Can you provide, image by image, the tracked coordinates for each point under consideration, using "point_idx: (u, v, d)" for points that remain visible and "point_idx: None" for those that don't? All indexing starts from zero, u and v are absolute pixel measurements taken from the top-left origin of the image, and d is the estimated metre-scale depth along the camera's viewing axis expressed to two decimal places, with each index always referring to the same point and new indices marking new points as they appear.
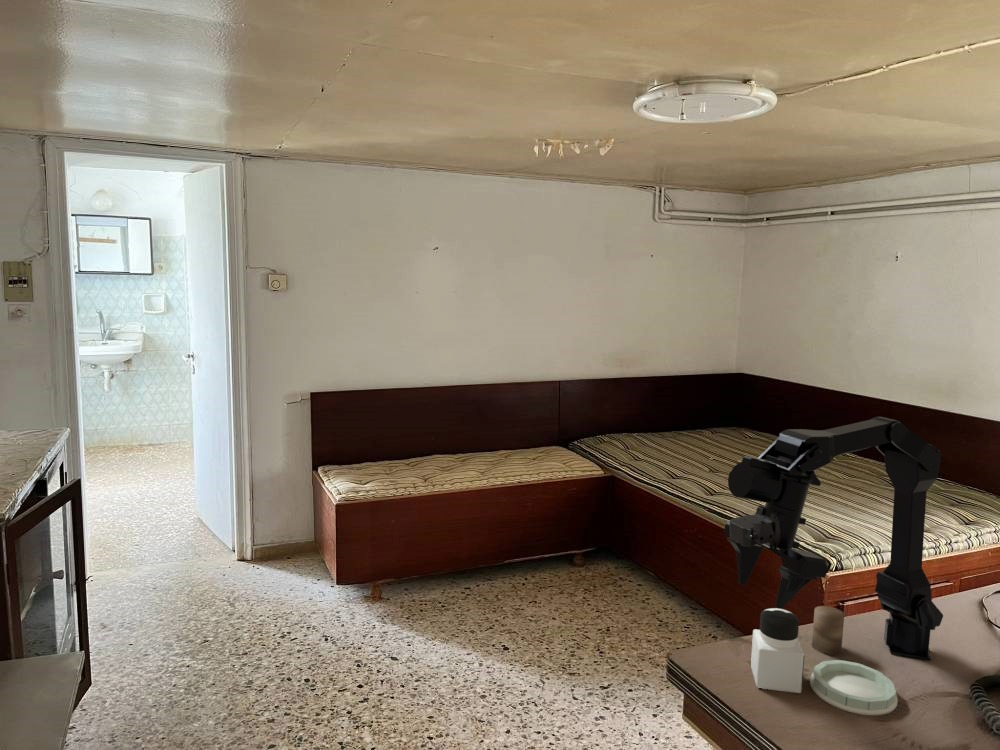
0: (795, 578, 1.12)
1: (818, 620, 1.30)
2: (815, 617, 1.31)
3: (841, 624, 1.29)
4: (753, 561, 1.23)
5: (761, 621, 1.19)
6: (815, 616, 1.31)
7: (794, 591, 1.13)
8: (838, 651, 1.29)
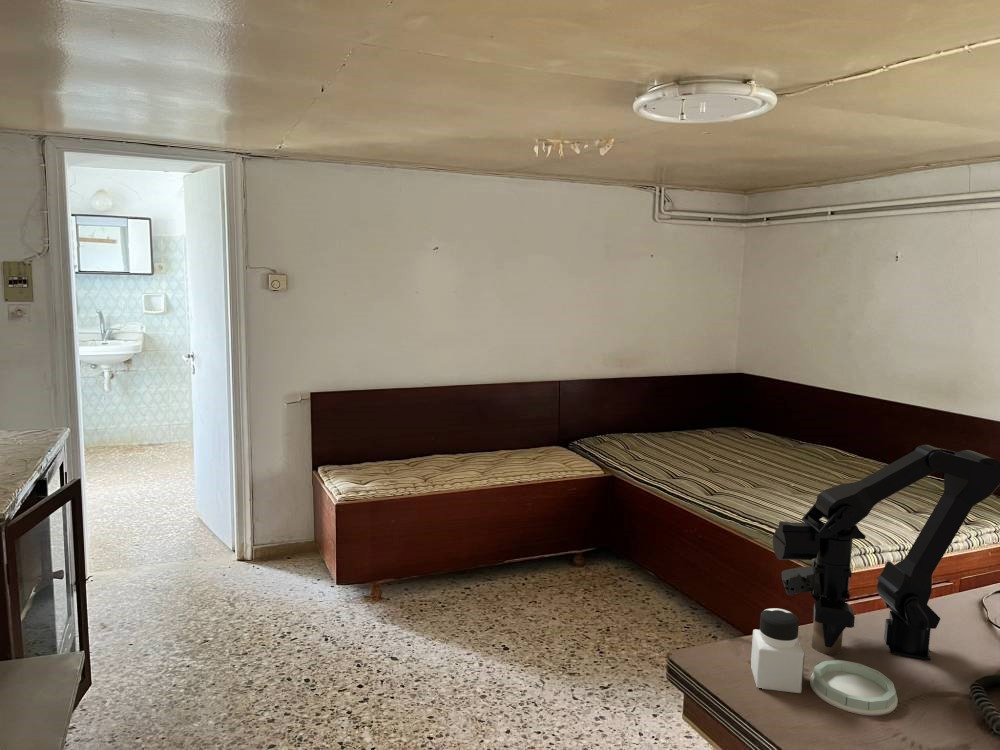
0: None
1: None
2: None
3: None
4: None
5: (761, 621, 1.19)
6: None
7: (835, 633, 1.27)
8: (838, 651, 1.29)
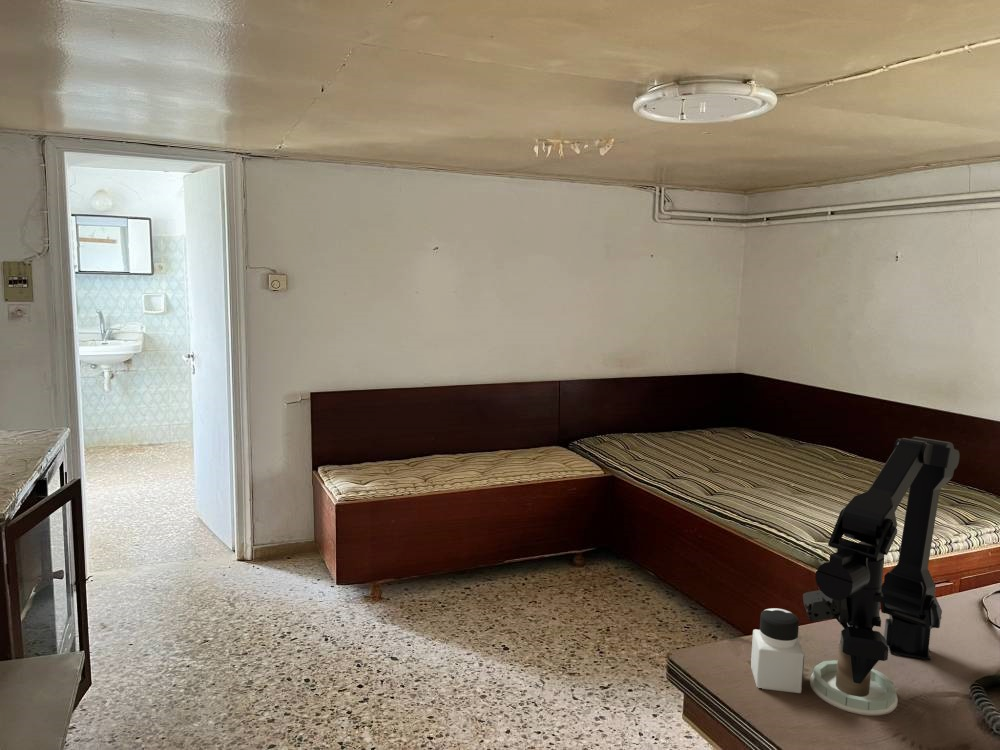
0: None
1: (843, 658, 1.16)
2: (840, 654, 1.17)
3: None
4: None
5: (761, 621, 1.19)
6: (840, 653, 1.17)
7: (866, 668, 1.12)
8: (866, 692, 1.15)
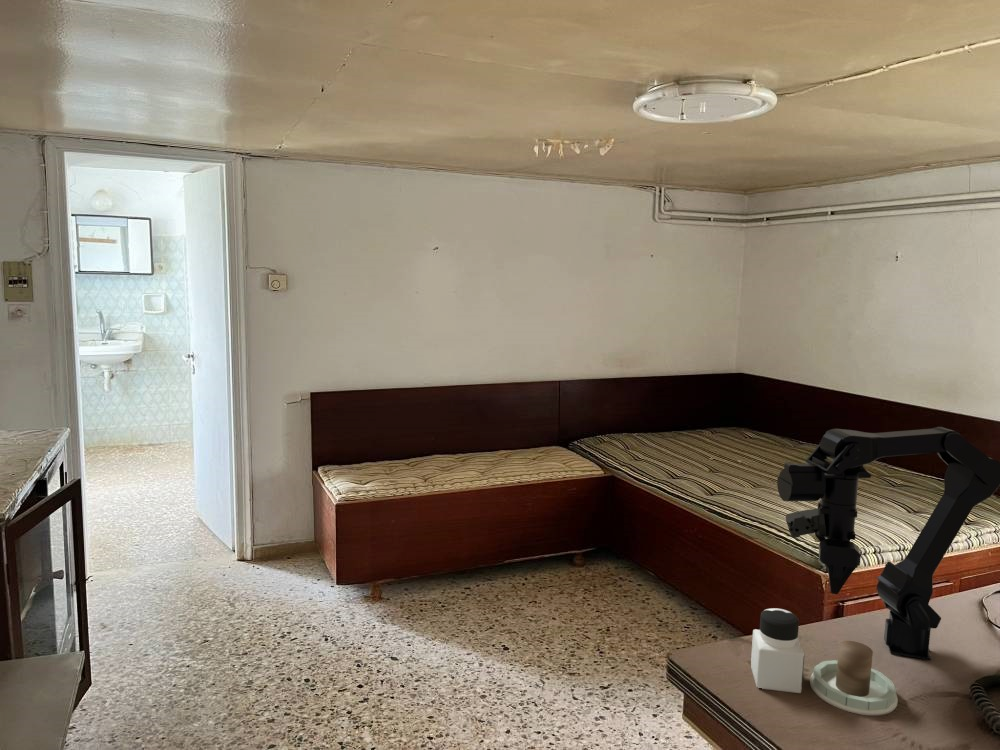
0: (840, 566, 1.23)
1: (843, 658, 1.16)
2: (840, 654, 1.17)
3: (869, 662, 1.15)
4: None
5: (761, 621, 1.19)
6: (840, 653, 1.17)
7: (842, 578, 1.23)
8: (866, 692, 1.15)
